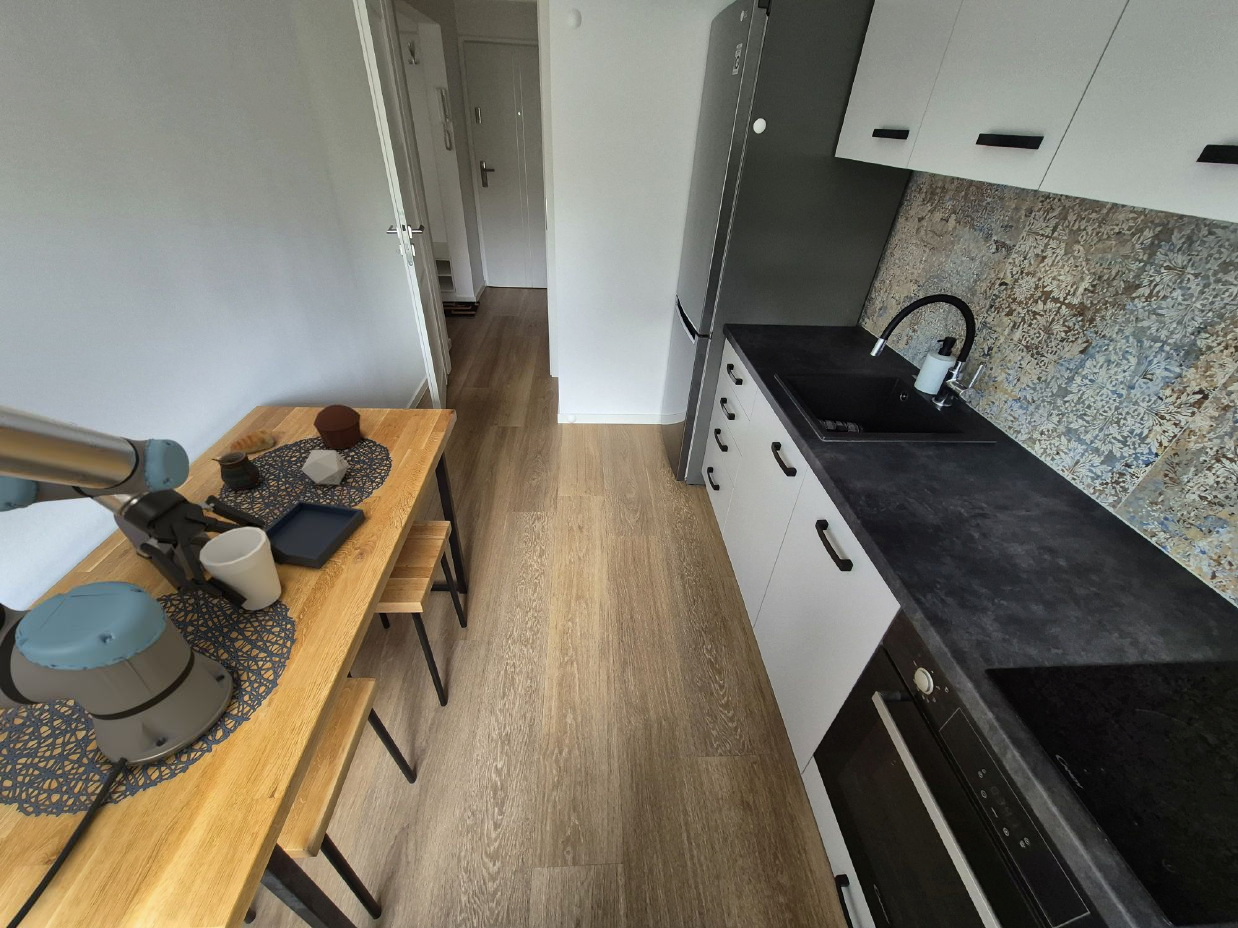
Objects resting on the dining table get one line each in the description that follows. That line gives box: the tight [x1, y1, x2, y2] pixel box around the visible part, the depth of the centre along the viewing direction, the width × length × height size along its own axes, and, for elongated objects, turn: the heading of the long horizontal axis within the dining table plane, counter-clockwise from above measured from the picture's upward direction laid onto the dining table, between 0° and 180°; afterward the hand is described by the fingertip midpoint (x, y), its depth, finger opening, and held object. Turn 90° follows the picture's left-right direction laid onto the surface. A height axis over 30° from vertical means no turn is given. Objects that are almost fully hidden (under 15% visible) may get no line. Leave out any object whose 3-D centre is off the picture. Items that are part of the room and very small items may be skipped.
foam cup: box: [200, 527, 282, 611], centre depth 87 cm, size 10×9×13 cm
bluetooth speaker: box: [112, 513, 212, 578], centre depth 96 cm, size 23×9×10 cm, turn 56°
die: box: [301, 449, 350, 486], centre depth 118 cm, size 8×9×10 cm
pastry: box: [230, 428, 275, 454], centre depth 130 cm, size 9×7×4 cm
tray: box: [263, 499, 366, 569], centre depth 104 cm, size 15×15×3 cm
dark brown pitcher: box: [211, 451, 261, 491], centre depth 115 cm, size 7×8×10 cm
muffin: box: [313, 404, 362, 450], centre depth 132 cm, size 12×11×10 cm
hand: (265, 581), depth 88 cm, fingers closed on foam cup, 9 cm apart
